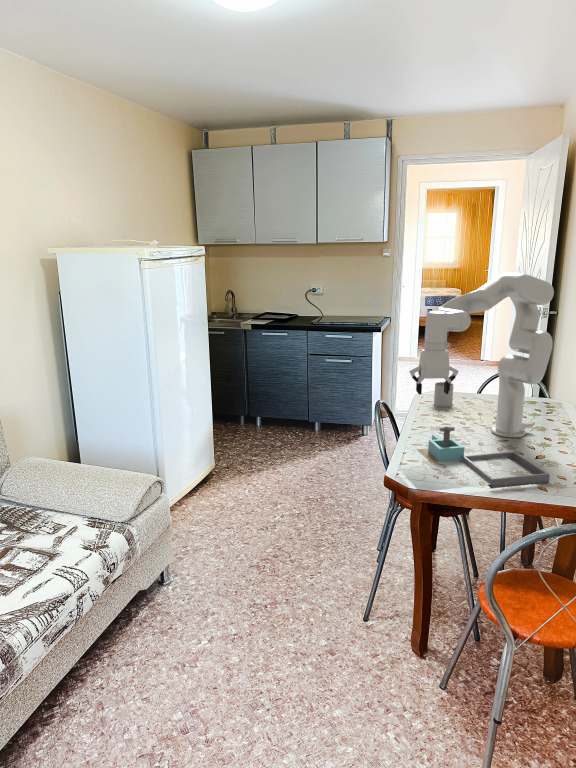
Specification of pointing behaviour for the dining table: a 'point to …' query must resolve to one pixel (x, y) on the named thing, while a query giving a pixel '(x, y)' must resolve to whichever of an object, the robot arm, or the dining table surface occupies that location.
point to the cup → (443, 395)
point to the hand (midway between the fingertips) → (432, 393)
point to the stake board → (432, 459)
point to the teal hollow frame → (445, 449)
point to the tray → (536, 476)
